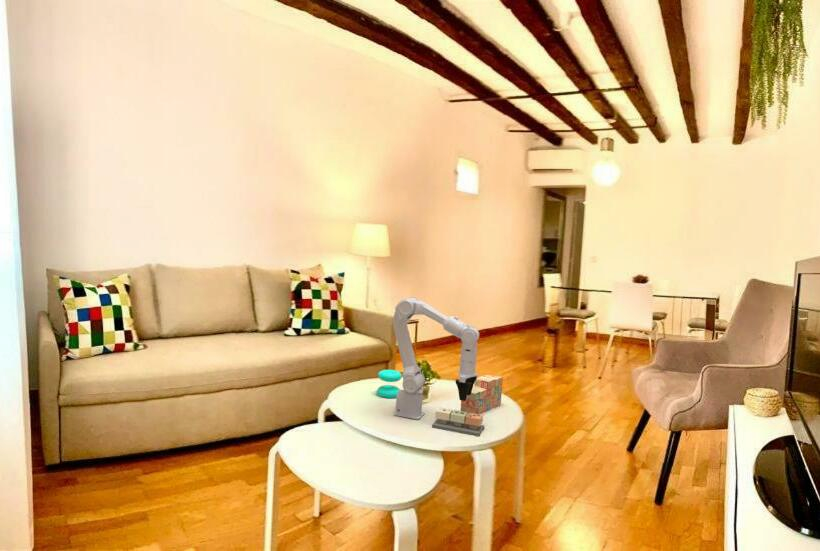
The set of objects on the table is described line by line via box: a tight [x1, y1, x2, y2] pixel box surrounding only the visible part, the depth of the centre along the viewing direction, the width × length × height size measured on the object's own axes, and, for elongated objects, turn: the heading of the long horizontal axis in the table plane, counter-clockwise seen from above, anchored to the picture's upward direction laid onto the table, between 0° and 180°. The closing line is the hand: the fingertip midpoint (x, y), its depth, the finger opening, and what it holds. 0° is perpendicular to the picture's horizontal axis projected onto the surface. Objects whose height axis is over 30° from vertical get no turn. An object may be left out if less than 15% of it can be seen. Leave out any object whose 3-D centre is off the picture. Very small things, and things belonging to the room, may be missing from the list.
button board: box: [431, 418, 485, 437], centre depth 182 cm, size 17×9×3 cm, turn 70°
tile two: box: [450, 409, 468, 423], centre depth 181 cm, size 5×5×3 cm
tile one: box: [434, 407, 454, 421], centre depth 183 cm, size 5×5×3 cm
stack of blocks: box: [459, 374, 504, 415], centre depth 205 cm, size 21×6×12 cm, turn 141°
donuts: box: [376, 369, 403, 399], centre depth 215 cm, size 10×10×10 cm
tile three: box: [465, 413, 484, 426], centre depth 180 cm, size 5×5×3 cm
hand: (465, 397), depth 186 cm, fingers open, 7 cm apart
